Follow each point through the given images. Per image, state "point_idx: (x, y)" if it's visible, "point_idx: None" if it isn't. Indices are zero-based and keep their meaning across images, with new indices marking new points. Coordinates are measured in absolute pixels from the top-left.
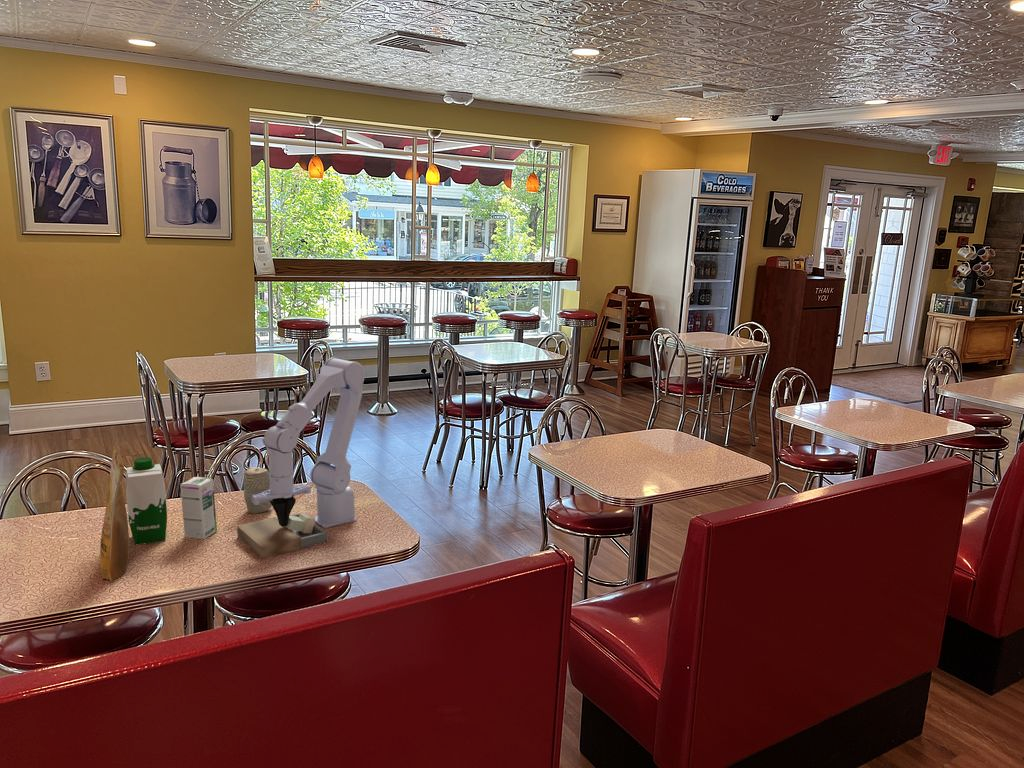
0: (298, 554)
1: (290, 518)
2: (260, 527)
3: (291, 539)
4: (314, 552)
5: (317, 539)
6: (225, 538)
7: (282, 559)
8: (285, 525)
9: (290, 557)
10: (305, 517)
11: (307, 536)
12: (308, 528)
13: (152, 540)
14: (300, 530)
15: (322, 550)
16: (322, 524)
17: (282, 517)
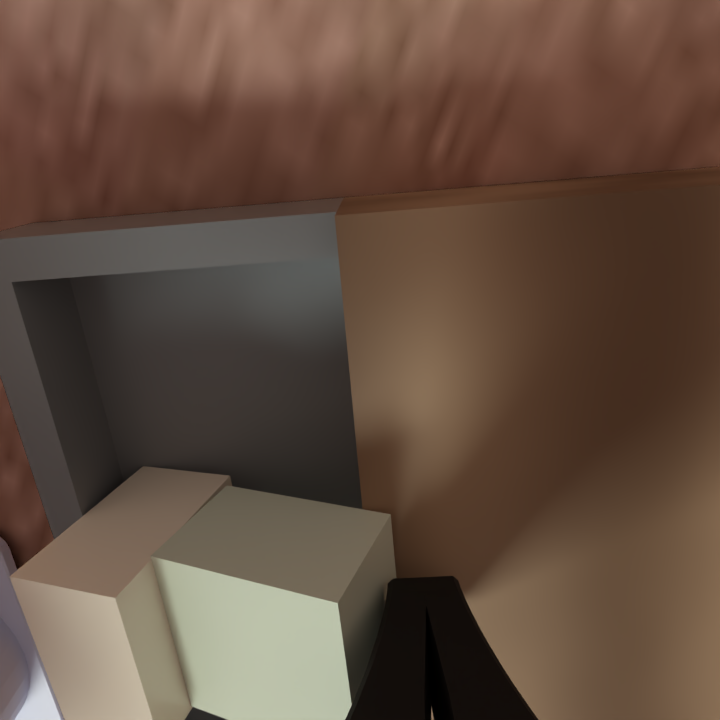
0: (426, 54)
1: (340, 651)
2: (622, 698)
3: (478, 210)
4: (238, 4)
5: (123, 223)
6: None
7: (645, 10)
8: (416, 580)
9: (541, 16)
10: (127, 625)
11: (230, 258)
12: (153, 500)
13: None
14: (249, 494)
15: (134, 10)
16: (2, 590)
17: (483, 674)
